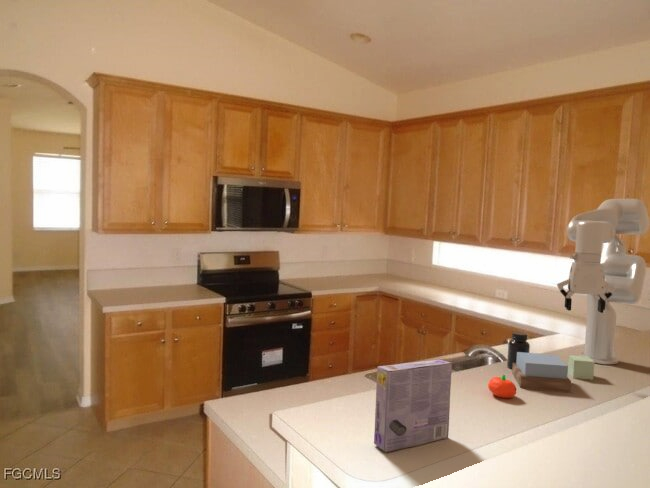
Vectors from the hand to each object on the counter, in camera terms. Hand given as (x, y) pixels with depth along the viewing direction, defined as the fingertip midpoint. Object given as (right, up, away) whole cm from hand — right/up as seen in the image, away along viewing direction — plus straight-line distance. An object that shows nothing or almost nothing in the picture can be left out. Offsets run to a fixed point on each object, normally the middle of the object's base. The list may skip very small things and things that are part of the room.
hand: (584, 311), depth 159 cm
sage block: (-1, -22, +1) cm, 22 cm away
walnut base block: (-18, -22, -6) cm, 29 cm away
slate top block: (-17, -18, -7) cm, 26 cm away
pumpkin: (-34, -22, -19) cm, 45 cm away
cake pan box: (-65, -23, -50) cm, 85 cm away
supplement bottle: (-19, -21, +8) cm, 29 cm away
